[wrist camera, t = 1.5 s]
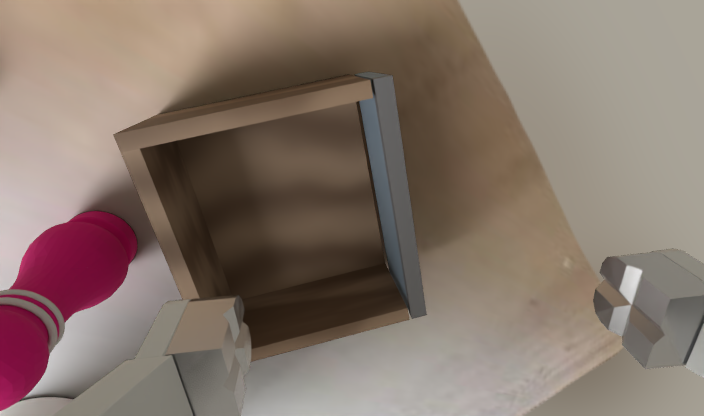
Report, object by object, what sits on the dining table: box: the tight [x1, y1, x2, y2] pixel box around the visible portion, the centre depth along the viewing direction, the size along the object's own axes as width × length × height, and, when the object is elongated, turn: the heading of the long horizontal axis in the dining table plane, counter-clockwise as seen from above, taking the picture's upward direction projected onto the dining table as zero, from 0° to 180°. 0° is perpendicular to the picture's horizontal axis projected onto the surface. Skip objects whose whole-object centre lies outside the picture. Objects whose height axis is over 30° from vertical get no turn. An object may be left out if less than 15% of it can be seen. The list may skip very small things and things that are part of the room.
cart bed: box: [113, 75, 409, 362], centre depth 34 cm, size 20×17×10 cm
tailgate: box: [355, 72, 427, 319], centre depth 34 cm, size 20×1×8 cm, turn 11°
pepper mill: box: [0, 211, 137, 411], centre depth 28 cm, size 7×7×20 cm
